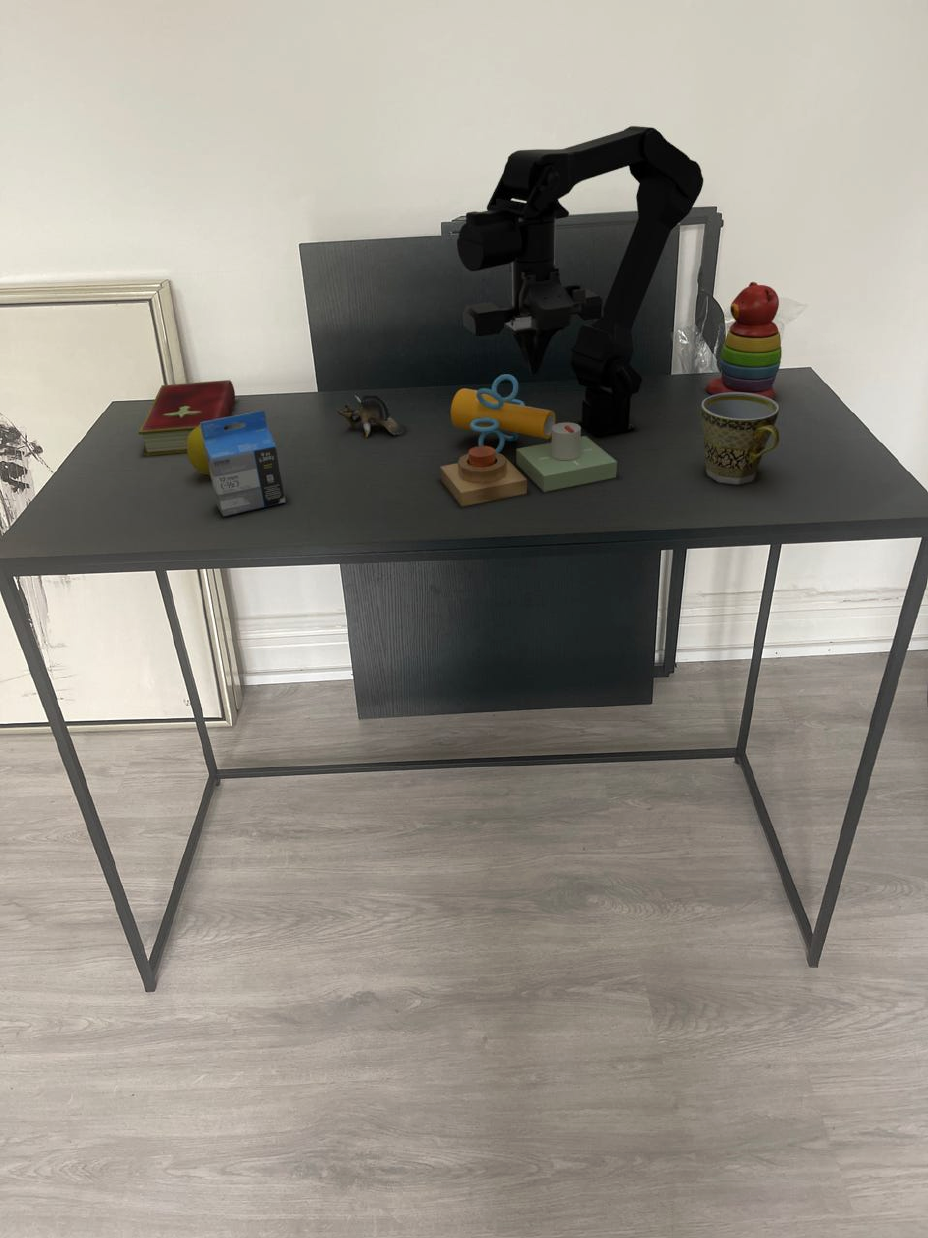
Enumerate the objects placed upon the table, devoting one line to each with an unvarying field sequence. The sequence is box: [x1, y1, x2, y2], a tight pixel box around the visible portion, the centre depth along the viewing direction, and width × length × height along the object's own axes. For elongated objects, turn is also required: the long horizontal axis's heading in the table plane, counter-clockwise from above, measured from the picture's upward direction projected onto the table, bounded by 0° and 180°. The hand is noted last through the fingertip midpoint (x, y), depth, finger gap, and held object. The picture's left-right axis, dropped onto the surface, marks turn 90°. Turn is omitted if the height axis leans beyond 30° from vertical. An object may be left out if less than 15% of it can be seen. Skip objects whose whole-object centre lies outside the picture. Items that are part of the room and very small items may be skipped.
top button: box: [468, 445, 496, 467], centre depth 124 cm, size 4×4×2 cm
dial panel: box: [515, 435, 618, 493], centre depth 129 cm, size 11×10×3 cm
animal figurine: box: [335, 394, 404, 438], centre depth 143 cm, size 8×7×9 cm
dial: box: [551, 421, 582, 460], centre depth 127 cm, size 4×4×4 cm
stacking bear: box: [706, 281, 783, 400], centre depth 145 cm, size 11×10×18 cm
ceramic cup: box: [701, 392, 780, 485], centre depth 122 cm, size 13×10×10 cm
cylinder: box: [450, 373, 557, 454], centre depth 134 cm, size 12×10×15 cm
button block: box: [439, 452, 528, 507], centre depth 125 cm, size 10×9×4 cm
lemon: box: [187, 425, 211, 477], centre depth 131 cm, size 6×6×8 cm
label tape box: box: [200, 410, 286, 517], centre depth 121 cm, size 9×4×12 cm, turn 114°
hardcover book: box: [138, 379, 236, 457], centre depth 149 cm, size 12×21×4 cm, turn 6°
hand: (533, 373), depth 129 cm, fingers closed
